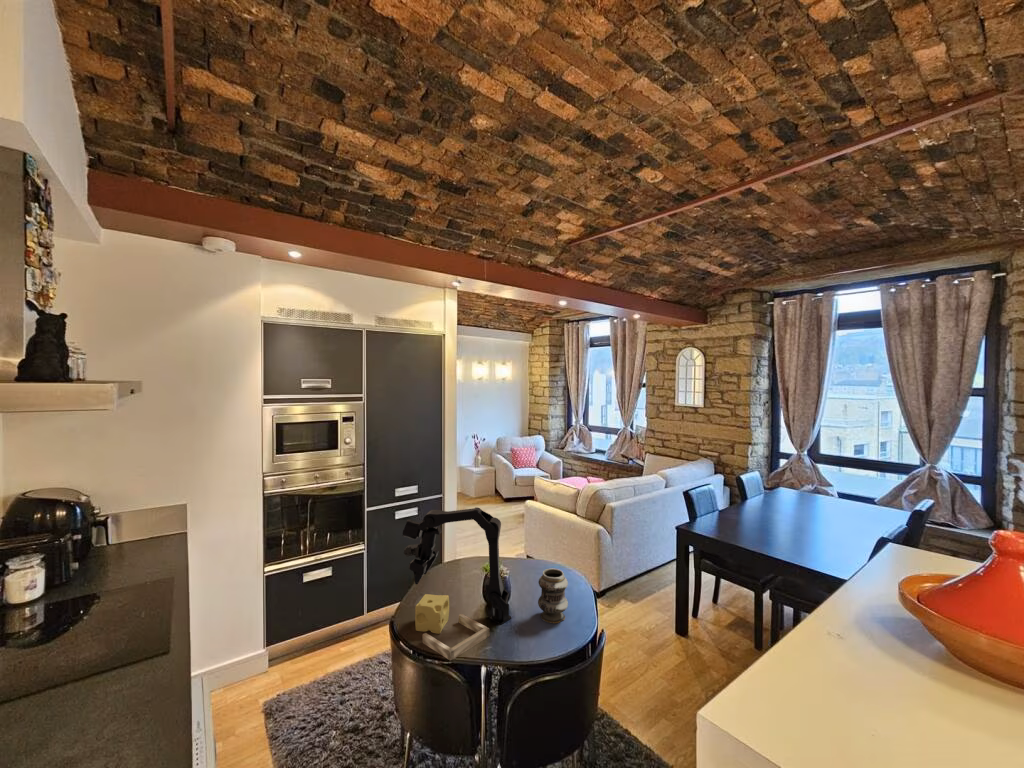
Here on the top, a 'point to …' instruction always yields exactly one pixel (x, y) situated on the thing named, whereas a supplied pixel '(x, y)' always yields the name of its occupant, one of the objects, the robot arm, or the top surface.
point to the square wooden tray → (462, 646)
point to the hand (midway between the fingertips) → (420, 578)
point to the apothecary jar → (553, 595)
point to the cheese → (432, 613)
